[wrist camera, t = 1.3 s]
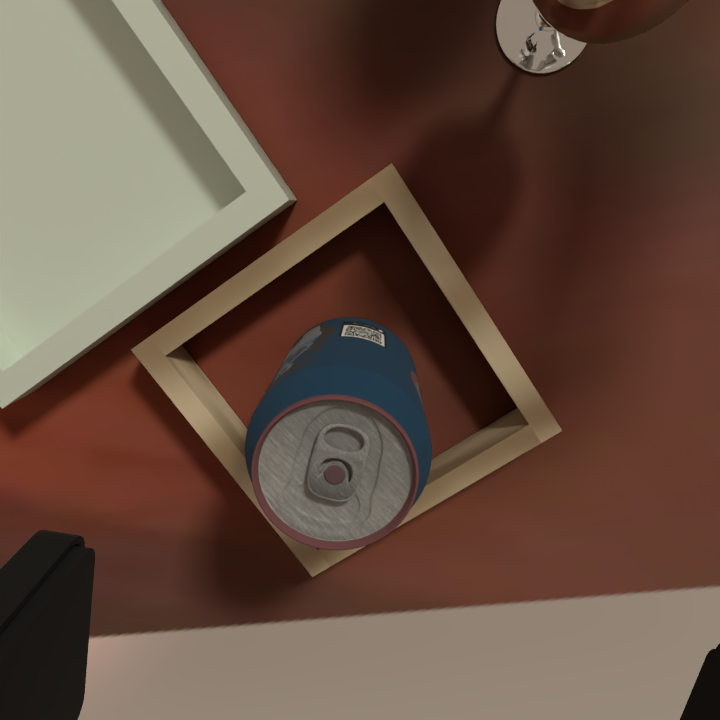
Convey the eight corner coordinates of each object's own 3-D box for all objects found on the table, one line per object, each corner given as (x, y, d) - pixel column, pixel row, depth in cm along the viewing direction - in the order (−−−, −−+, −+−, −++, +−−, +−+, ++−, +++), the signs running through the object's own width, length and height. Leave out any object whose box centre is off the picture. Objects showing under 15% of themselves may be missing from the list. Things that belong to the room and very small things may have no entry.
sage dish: (297, 200, 29) (289, 199, 26) (33, 391, 32) (2, 408, 29) (56, -153, 25) (17, -196, 23) (-215, 100, 28) (-277, 89, 26)
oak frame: (548, 413, 31) (562, 430, 29) (317, 550, 34) (312, 577, 32) (390, 166, 28) (391, 163, 26) (150, 338, 31) (130, 349, 29)
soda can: (395, 449, 32) (405, 586, 21) (274, 418, 32) (215, 540, 20) (430, 331, 31) (463, 409, 19) (302, 297, 30) (255, 355, 19)
